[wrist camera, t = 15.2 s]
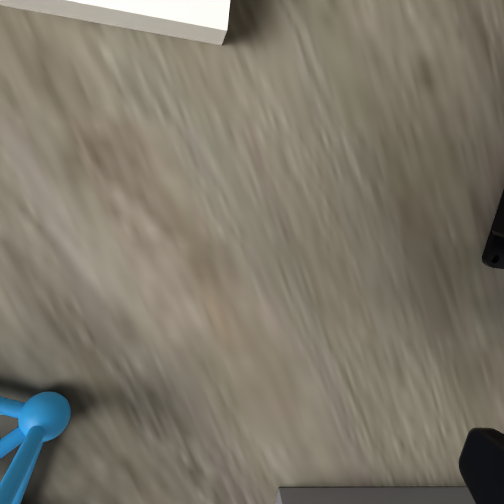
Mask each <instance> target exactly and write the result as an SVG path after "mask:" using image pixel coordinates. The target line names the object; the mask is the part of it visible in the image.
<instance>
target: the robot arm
mask: <svg viewBox="0 0 504 504" xmlns="http://www.w3.org/2000/svg"><path fill="white" fill-rule="evenodd" d="M492 256H494V258H493V260H491V258H492ZM482 262H483V263H484V264H485V265H487V266H489V267H492V268H500V269H504V190H503V194H502V197H501V200H500V203H499V206H498V209H497V212H496V215H495V218H494V221H493V224H492V228H491V231H490V234H489V237H488V240H487V243H486V246H485V249H484V252H483V255H482ZM459 469H460V473H461V475H462V477H463V479H464V481H465V483H466V485H467V487H468V489H469V491H470V493H471V495H472V498H473V500H474V502H475V504H504V434H503V433H501V432H499V431H497V430H495V429H492V428H473V429H471V430H470V431H469V433H468V435H467V438H466V441H465V444H464V447H463V449H462V452H461V455H460V458H459Z"/></svg>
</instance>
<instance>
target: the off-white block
mask: <svg viewBox="0 0 504 504" xmlns="http://www.w3.org/2000/svg"><path fill="white" fill-rule="evenodd" d="M0 5H2V6H7V7H13V8H18V9H24V10H29V11H35V12H41V13H46V14H52V15H57V16H63V17H68V18H74V19H79V20H85V21H90V22H96V23H101V24H107V25H112V26H118V27H123V28H129V29H134V30H140V31H145V32H151V33H156V34H162V35H167V36H173V37H178V38H184V39H189V40H195V41H200V42H206V43H211V44H217V45H222V43H223V40H224V38H225V35H226V32H227V27H228V17H229V8H230V0H0Z"/></svg>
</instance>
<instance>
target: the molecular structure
mask: <svg viewBox="0 0 504 504" xmlns="http://www.w3.org/2000/svg"><path fill="white" fill-rule="evenodd" d="M0 414H2V415H6V416H10V417H15V418H18V424H19V427H17V428H16V429H14V430H13V431H12V432H10V433H9V434H7V435H6V436H5V437H3V438H2V439H1V440H0V459H1V458H2V457H4V456H5V455H6V454H8V453H9V452H10V451H12V450H13V449H14V448H16V447H17V446H18V445H20V444H21V443H22V444H21V446H20V448H19V450H18V451H17V453H16V455H15V457H14V459H13V461H12V463H11V464H10V466H9V468H8V470H7V472H6V474H5V476H4V477H3V479H2V481H1V483H0V504H20V503H21V501H22V498H23V495H24V493H25V490H26V488H27V485H28V482H29V480H30V477H31V474H32V472H33V469H34V466H35V464H36V461H37V458H38V456H39V453H40V450H41V448H42V445H43V442H45V441H49V440H51V439H54V438H55V437H57V436H58V435H60V434H61V433H62V432H63V431H64V430H65V428H66V427H67V425H68V423H69V420H70V415H71V409H70V405H69V403H68V401H67V399H66V398H65V397H63V396H62V395H61V394H58V393H56V392H42V393H39V394H36V395H35V396H33V397H31V398H30V399H29V400H28V401H27V402H26V403H24V402H20V401H16V400H12V399H8V398H4V397H0Z"/></svg>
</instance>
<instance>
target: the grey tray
mask: <svg viewBox="0 0 504 504" xmlns="http://www.w3.org/2000/svg"><path fill="white" fill-rule="evenodd" d="M275 504H475V502H474V500H473V498H472V495H471V493H470V491H469V489H468V487H347V488H278V492H277V497H276V501H275Z"/></svg>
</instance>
